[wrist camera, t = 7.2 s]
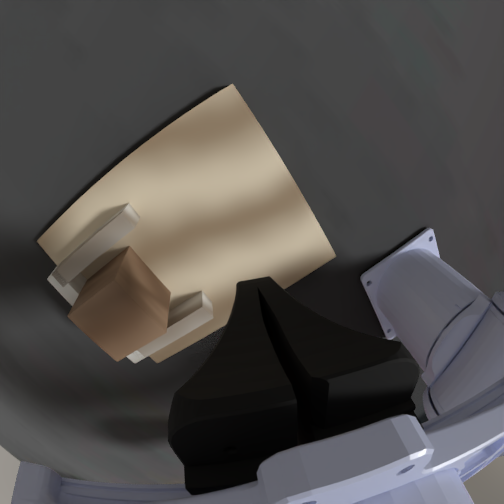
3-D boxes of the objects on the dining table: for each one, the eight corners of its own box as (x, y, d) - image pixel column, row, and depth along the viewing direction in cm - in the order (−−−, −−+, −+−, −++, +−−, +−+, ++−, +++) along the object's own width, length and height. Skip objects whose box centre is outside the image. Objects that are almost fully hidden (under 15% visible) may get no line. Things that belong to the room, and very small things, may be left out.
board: (331, 250, 23) (347, 268, 21) (158, 355, 25) (155, 380, 23) (230, 85, 17) (236, 79, 15) (42, 235, 19) (24, 253, 16)
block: (170, 292, 22) (166, 332, 18) (127, 320, 22) (117, 361, 18) (129, 245, 20) (114, 279, 16) (87, 279, 20) (67, 316, 16)
